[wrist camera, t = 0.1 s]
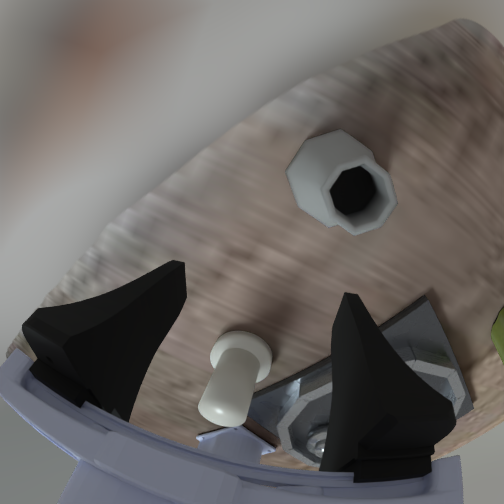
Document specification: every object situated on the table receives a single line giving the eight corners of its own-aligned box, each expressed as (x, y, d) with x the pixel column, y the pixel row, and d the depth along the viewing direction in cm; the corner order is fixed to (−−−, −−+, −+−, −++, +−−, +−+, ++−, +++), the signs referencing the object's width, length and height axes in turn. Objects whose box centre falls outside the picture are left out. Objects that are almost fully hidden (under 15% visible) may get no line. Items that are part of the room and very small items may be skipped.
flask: (397, 190, 19) (460, 218, 10) (325, 242, 21) (337, 307, 12) (341, 113, 18) (371, 77, 9) (268, 169, 20) (236, 179, 11)
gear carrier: (336, 468, 32) (335, 484, 29) (237, 400, 29) (230, 421, 26) (471, 403, 24) (479, 420, 21) (424, 294, 21) (438, 314, 18)
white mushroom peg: (241, 381, 28) (222, 437, 21) (203, 346, 27) (173, 400, 20) (284, 360, 26) (273, 422, 19) (244, 320, 25) (220, 380, 18)
